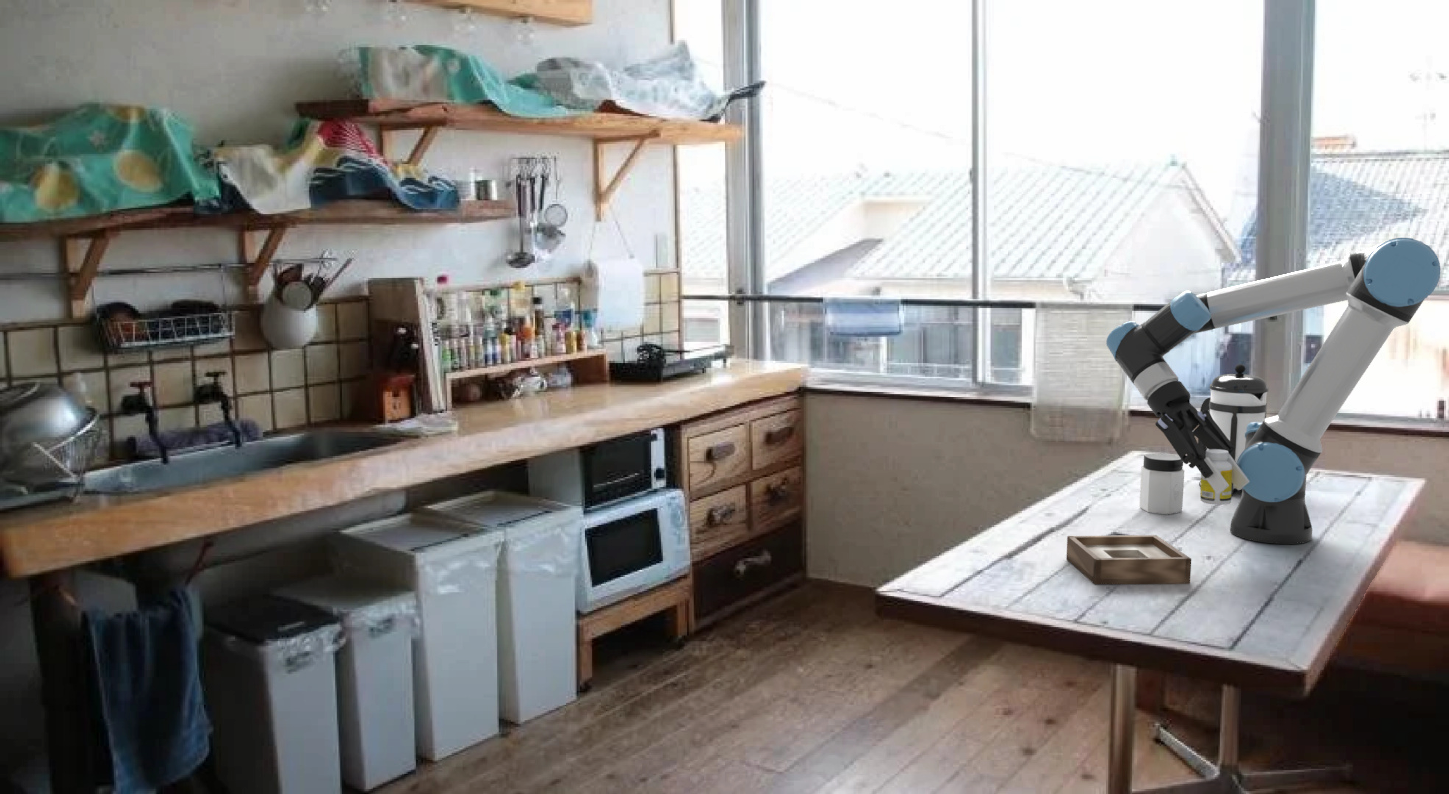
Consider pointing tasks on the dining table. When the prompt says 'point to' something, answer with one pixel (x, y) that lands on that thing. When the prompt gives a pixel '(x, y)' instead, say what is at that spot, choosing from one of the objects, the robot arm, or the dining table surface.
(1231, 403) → the coffee press
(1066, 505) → the dining table surface
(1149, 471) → the jar
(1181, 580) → the socket box
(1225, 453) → the supplement bottle
